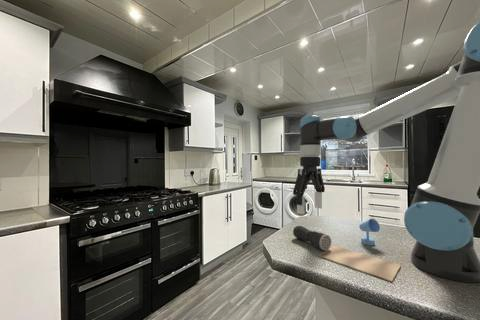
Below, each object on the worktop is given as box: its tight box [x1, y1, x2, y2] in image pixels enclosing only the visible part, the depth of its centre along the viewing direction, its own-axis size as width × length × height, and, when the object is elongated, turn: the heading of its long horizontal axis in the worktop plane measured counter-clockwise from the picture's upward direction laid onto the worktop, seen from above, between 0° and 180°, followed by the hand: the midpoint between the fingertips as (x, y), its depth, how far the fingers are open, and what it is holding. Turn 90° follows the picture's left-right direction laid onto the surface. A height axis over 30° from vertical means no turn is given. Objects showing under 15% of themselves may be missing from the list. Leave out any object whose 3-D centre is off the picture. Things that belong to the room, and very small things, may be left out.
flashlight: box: [292, 225, 332, 252], centre depth 79 cm, size 15×5×5 cm, turn 25°
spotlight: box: [359, 218, 381, 246], centre depth 79 cm, size 5×10×7 cm
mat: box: [318, 245, 402, 283], centre depth 65 cm, size 20×12×1 cm, turn 42°
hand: (309, 210), depth 79 cm, fingers open, 13 cm apart
